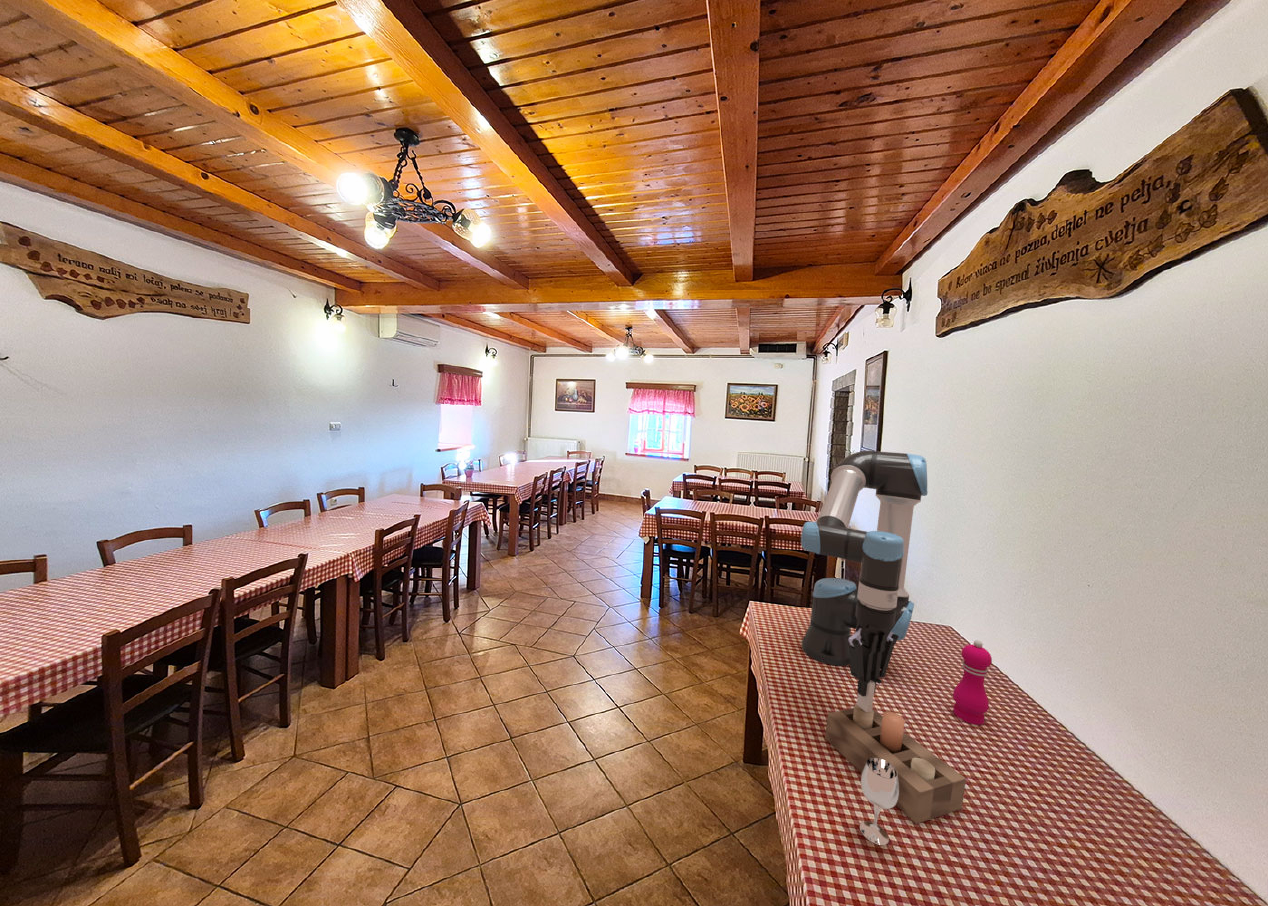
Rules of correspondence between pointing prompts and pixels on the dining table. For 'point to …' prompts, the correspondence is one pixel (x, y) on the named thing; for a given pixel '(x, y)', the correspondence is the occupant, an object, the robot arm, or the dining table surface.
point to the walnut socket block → (899, 766)
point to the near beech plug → (923, 769)
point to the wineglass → (879, 795)
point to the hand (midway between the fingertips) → (864, 708)
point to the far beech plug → (863, 718)
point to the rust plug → (892, 731)
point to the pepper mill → (972, 685)
